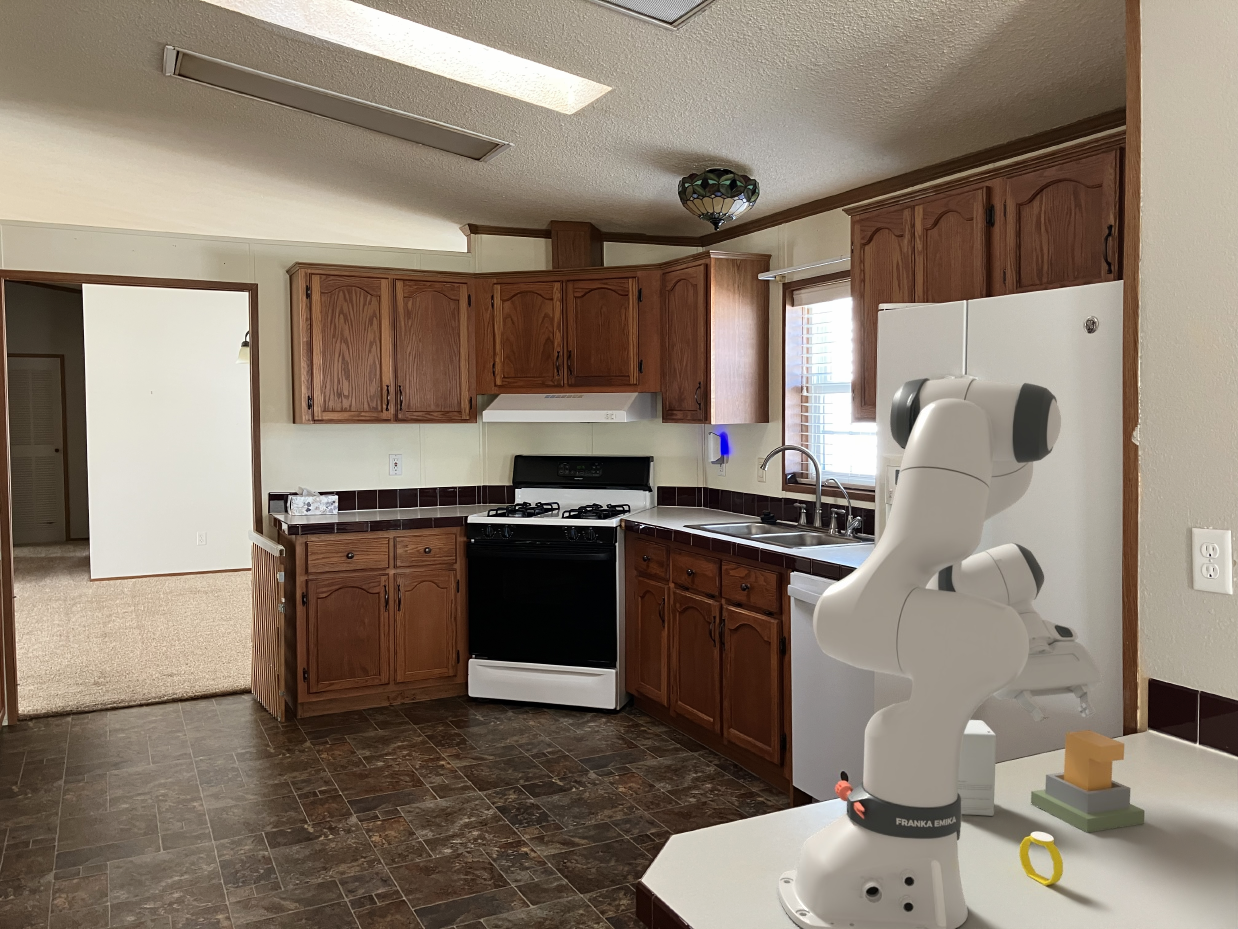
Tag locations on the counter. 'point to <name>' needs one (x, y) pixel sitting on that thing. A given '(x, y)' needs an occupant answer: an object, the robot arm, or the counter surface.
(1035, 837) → the watch
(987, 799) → the supplement box
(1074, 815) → the grey-rimmed base plate
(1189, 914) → the counter surface
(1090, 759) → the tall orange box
